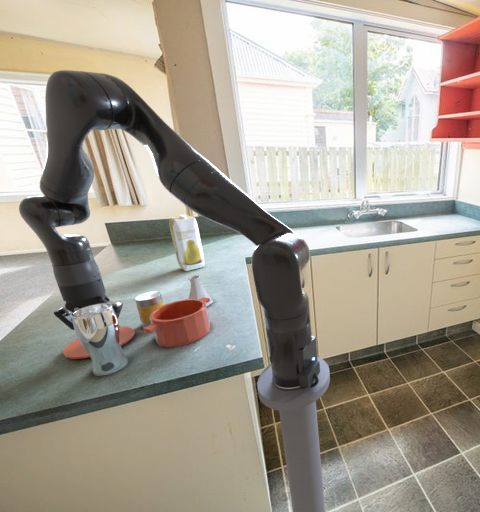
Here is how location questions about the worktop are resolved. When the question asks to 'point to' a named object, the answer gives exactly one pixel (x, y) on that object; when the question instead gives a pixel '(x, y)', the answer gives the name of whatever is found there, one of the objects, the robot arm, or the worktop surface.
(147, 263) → the worktop surface
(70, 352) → the lid
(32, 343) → the worktop surface
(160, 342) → the pot
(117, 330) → the silver metal cup
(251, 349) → the worktop surface
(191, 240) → the juice carton
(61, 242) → the robot arm
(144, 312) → the can
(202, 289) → the flask
